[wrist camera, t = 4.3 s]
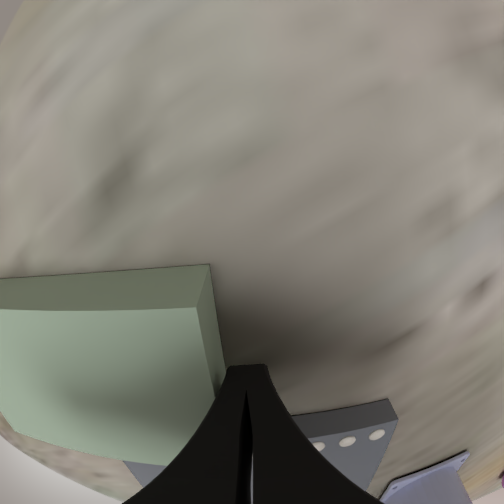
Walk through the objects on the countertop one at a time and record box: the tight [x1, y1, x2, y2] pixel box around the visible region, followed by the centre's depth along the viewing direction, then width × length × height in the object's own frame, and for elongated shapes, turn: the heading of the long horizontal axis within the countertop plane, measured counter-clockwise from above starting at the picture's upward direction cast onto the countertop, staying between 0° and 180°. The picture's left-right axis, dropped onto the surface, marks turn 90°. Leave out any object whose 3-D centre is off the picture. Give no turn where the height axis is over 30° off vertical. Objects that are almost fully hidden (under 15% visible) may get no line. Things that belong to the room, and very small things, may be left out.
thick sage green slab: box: [0, 264, 226, 466], centre depth 10 cm, size 8×12×3 cm, turn 95°
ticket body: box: [123, 399, 399, 504], centre depth 13 cm, size 9×14×2 cm, turn 95°
